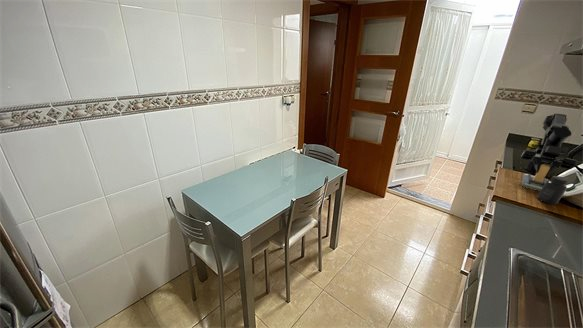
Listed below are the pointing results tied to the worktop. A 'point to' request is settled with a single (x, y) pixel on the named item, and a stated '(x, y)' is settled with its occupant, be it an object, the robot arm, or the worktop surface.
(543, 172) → the handle
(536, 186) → the grey rail base
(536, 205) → the worktop surface
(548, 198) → the supplement bottle
